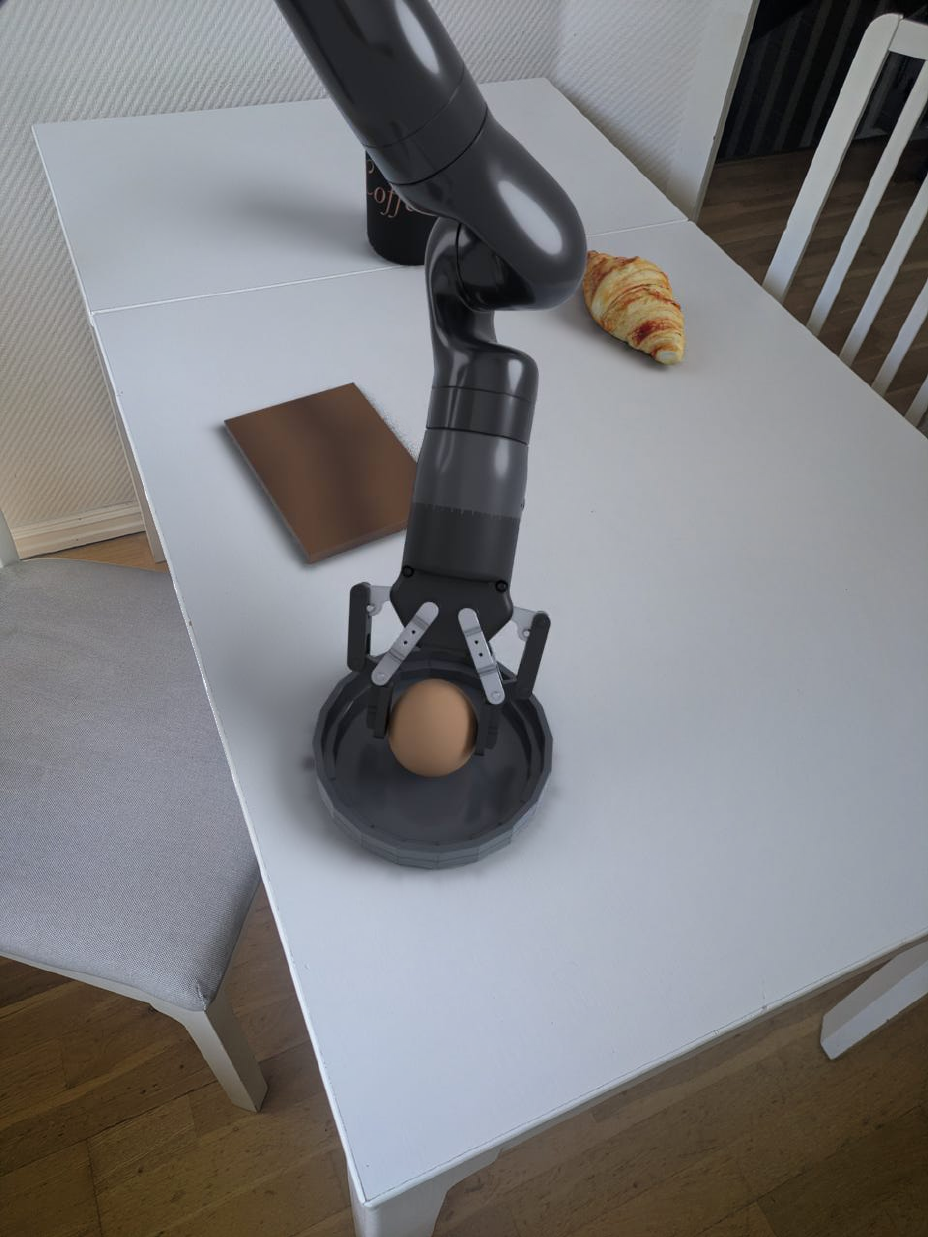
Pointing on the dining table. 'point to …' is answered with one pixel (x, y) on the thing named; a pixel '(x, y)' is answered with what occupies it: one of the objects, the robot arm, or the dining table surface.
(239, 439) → the board
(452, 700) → the egg
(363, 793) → the pan
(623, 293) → the croissant
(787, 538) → the dining table surface
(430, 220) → the coffee jar
